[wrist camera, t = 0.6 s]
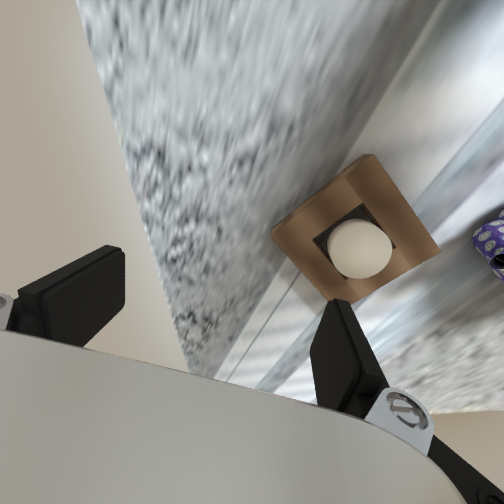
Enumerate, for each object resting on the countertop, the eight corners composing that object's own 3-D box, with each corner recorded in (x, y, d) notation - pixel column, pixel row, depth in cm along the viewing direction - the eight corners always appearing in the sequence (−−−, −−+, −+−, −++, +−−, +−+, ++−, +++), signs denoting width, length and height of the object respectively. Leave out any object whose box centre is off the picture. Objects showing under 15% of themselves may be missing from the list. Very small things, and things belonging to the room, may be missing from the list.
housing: (363, 154, 32) (374, 154, 29) (424, 241, 36) (441, 251, 32) (271, 228, 37) (270, 236, 34) (332, 298, 41) (337, 312, 37)
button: (361, 207, 31) (371, 214, 28) (391, 247, 32) (403, 257, 29) (316, 240, 33) (320, 249, 30) (346, 275, 35) (352, 288, 32)
